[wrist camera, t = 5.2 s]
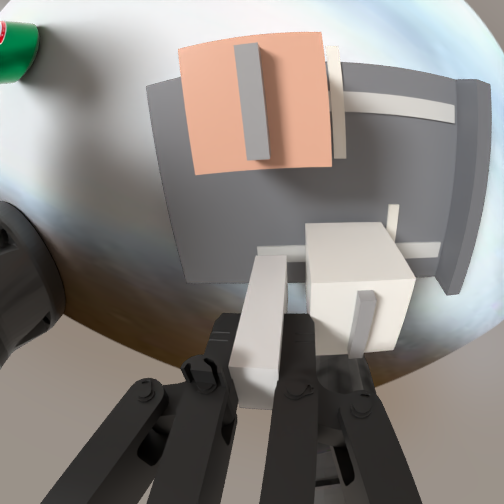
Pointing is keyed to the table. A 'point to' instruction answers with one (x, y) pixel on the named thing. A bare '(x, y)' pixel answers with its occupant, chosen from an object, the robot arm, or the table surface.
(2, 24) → the soda can
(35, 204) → the table surface
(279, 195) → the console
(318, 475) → the beverage cup
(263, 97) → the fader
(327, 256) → the block
